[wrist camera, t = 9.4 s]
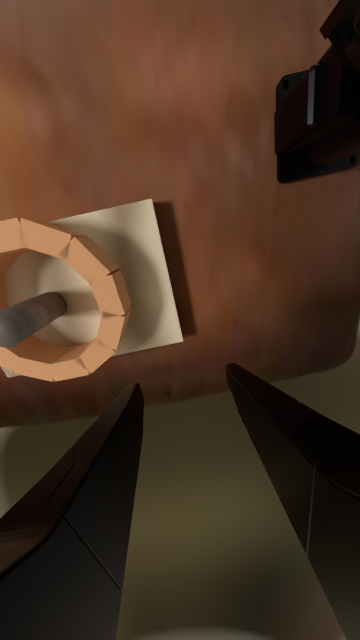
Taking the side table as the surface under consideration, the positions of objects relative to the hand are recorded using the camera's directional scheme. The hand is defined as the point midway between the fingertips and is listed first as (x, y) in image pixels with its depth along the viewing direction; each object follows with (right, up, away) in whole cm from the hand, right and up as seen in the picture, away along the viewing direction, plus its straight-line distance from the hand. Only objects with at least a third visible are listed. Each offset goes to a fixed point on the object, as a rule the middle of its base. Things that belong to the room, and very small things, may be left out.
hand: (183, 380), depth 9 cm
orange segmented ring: (-11, +4, +9) cm, 15 cm away
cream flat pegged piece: (-10, +5, +10) cm, 16 cm away
